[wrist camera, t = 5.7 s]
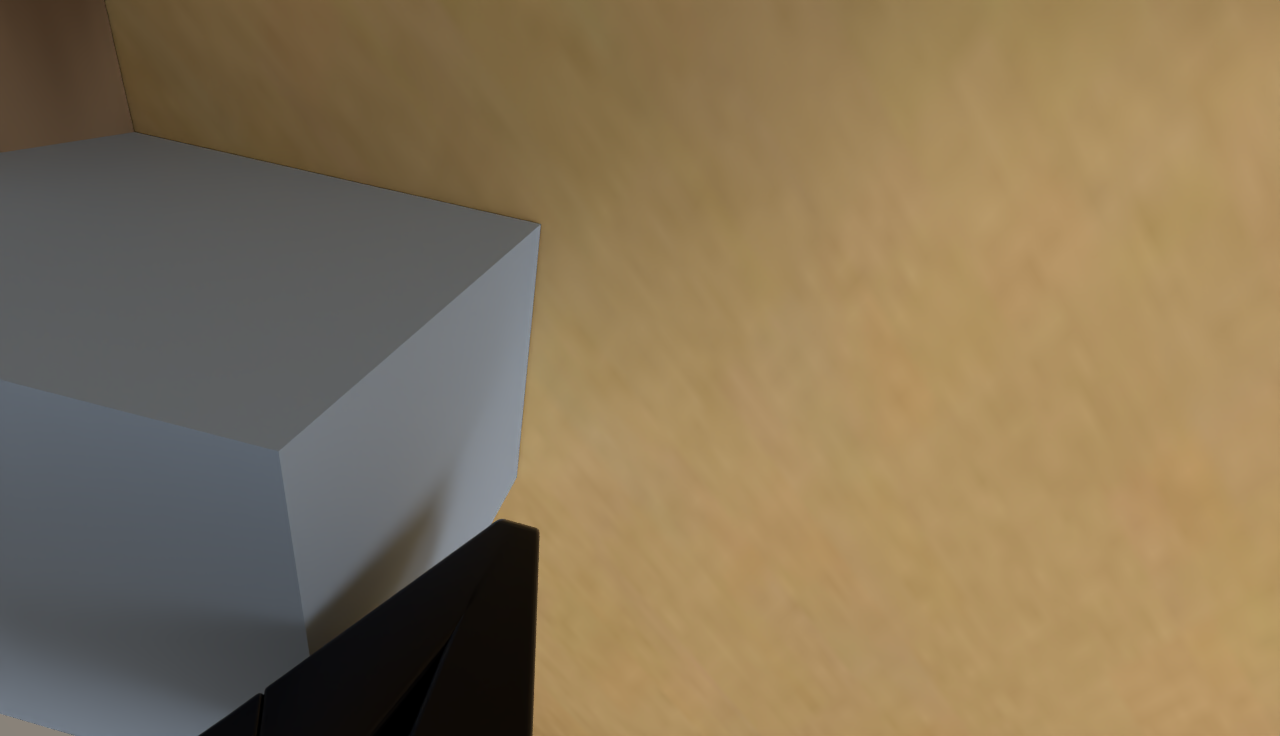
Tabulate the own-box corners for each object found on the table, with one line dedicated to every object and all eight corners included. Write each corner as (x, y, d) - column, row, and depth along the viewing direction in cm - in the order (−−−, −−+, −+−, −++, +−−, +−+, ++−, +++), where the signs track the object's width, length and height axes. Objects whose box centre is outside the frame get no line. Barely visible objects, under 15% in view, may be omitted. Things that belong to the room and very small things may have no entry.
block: (516, 477, 14) (333, 811, 8) (194, 395, 15) (-209, 652, 8) (540, 223, 11) (277, 452, 5) (134, 132, 12) (-552, 238, 6)
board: (239, 596, 18) (116, 729, 15) (145, 571, 18) (2, 696, 15) (13, -400, 8) (-532, -719, 5) (-187, -434, 8) (-849, -763, 5)
